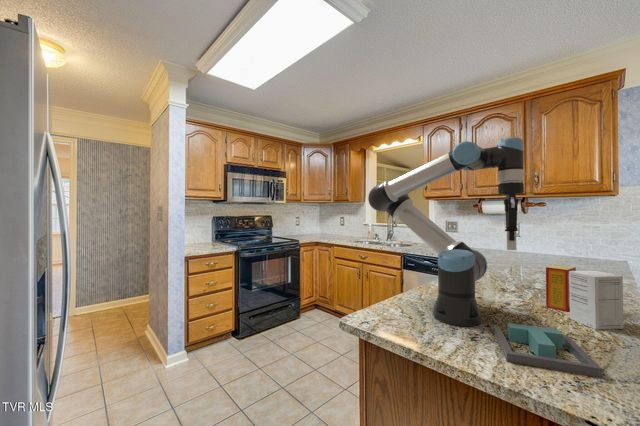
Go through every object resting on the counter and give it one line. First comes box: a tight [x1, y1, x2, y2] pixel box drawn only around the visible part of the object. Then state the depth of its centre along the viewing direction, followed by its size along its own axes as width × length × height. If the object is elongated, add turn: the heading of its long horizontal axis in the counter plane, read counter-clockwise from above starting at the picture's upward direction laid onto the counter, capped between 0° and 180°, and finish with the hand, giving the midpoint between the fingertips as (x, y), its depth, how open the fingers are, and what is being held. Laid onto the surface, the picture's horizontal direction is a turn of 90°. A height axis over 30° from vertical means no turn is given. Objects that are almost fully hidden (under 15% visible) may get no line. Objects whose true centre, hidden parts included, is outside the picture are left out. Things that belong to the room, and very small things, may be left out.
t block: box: [506, 322, 564, 359], centre depth 75 cm, size 12×12×4 cm
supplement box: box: [569, 270, 625, 331], centre depth 92 cm, size 10×9×17 cm
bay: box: [493, 325, 603, 379], centre depth 74 cm, size 18×18×2 cm
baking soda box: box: [545, 264, 577, 313], centre depth 109 cm, size 10×6×16 cm
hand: (511, 249), depth 98 cm, fingers closed
